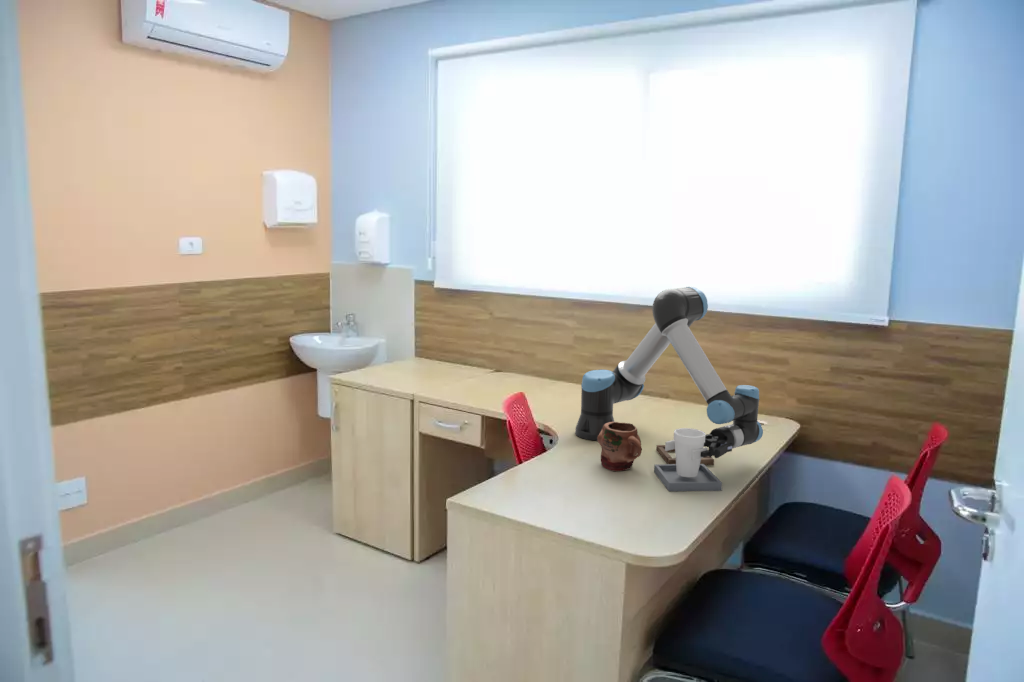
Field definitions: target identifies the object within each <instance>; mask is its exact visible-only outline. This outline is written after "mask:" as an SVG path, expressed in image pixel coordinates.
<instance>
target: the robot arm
mask: <svg viewBox="0 0 1024 682" xmlns="http://www.w3.org/2000/svg"><path fill="white" fill-rule="evenodd" d="M708 307H709V305H708V298H707V296H706V294H705V293H704V291H702V290H701V289H700V288H697V287H694V286H693V287H692V286H686V287H679V288H668V289H665V290H662V291H661V292H660V293H658V294H657V296H655V298H654V300H653V303H652V308H651V309H652V316H653V320H654V322H655V323H654V324H653V325H652V327H651V328H650V329H649V330H648V332H647V333H646V335H644V337H643V338H642V340H641V341H640V342H639V344H638V345H637V346H636V347H635V349H634V350H633V351H632V353H631V354H630V355H629V356H628V358H627V359H626V360H622V361H620V362H619V363H618V364H617V365H616V367H615V368H614V369H613V370H608V369H593V370H589V371H587V372H585V373H584V374H583V376H582V380H581V384H580V385H581V400H580V402H581V403H580V404H581V405H580V414H579V417H578V420H577V423H576V426H575V435H576V436H577V437H579V438H581V439H585V440H589V441H598V440H597V437H598V435H599V434H600V432H601V430H602V428H603V426H604V424H605V423H609V422H615V418H614V405H615V404H619V403H621V402H626V401H631V400H634V399H635V398H637V397H639V396H640V395H641V394H642V392H643V391H644V388H645V385H644V384H645V382H646V374H647V373H648V372H649V371H650V369H651V368H652V367H653V366H654V364H655V363H656V362H657V360H658V359H659V358H660V357H661V356H662V354H663V353H664V352H665V350H666V349H668V347H669V346H670V344H671V346H672V347H673V349H674V351H675V353H676V354H677V355H678V356H677V357H679V359H680V361H681V362H682V364H683V365H684V367H685V369H686V370H687V372H688V374H689V375H690V377H691V379H692V381H693V382H694V384H695V385H696V387H697V389H698V390H699V392H700V394H701V395H702V398H704V400H705V401H706V402H705V403H706V404H707V406H706V416H707V418H708V420H710V422H711V423H713V424H715V425H724V424H727V425H724V426H720V427H716V428H713V429H712V430H711V431H710V432H709V433H705V435H706V436H705V443H704V447H703V448H701V449H697V450H694V451H692V452H691V460H696V459H700V458H703V457H707V456H709V457H712V458H713V457H714V459H719V458H720V457H722V456H724V455H725V454H727V453H729V452H730V453H731V452H732V451H733V449H736V448H740V447H743V446H747V445H751V444H754V443H756V442H758V441H760V440H762V437H763V434H764V430H763V426H762V424H761V423H760V422H759V421H758V415H759V406H760V405H759V404H760V403H759V402H760V390H759V388H758V387H756V386H754V385H750V384H749V385H747V384H740V385H737V386H736V387H735V390H734V393H733V394H734V395H731V394H730V392H729V391H728V388H726V386H725V384H724V383H723V381H722V379H721V377H720V375H719V374H718V373H717V371H716V369H715V368H714V366H713V364H712V363H711V362H710V360H709V358H708V356H707V354H706V352H704V350H703V348H702V346H701V345H700V343H699V341H698V340H697V339H696V336H695V335H694V334H693V332H692V330H691V328H690V327H691V326H692V325H693V323H694V322H696V321H699V320H701V319H702V318H704V317H705V316H706V314H707V312H708V310H709V309H708ZM731 422H732V423H731ZM730 423H731V424H730ZM664 445H665V451H669V450H673V449H675V442H674V439H672V440H668V441H665V443H664Z"/></svg>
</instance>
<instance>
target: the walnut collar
mask: <svg viewBox="0 0 1024 682" xmlns="http://www.w3.org/2000/svg"><path fill="white" fill-rule="evenodd" d="M655 447H656V450H655V451H656V452H657V453H658V455H659V456H660V457H661V458H662V459H663V460H664V461H665V464H676V457H672V456H671V455H670V454H669V453H675V449H673V450H669V451H665V444H656V446H655ZM700 464H704V465H705V466H714V465H715V458H713V456H712V457H709V456H707V457H703V458H701V461H700Z"/></svg>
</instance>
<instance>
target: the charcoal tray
mask: <svg viewBox="0 0 1024 682" xmlns="http://www.w3.org/2000/svg"><path fill="white" fill-rule="evenodd" d="M653 469H654V470H653V473H654V474H655V475H656V477H657V479H659V480H660V481H661V484H662V485H663V486H664V488H666V489H667V491H668V492H711V491H712V492H713V491H714V492H716V491H717V492H718V491H719V492H720V491H722V489H723V488H722V486H723V482H722V481H721V480H720V478H718V477H717V476H716V475H715V474H714V473H713V472H712V471H711V470H710V469H709V467H707V465H704V464H700V466H699V471H698V475H697V476H695V477H684V476H680V475H678V474H677V470H676V464H668V463H665V464H660V463H659V464H655V463H654V467H653Z"/></svg>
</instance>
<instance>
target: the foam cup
mask: <svg viewBox="0 0 1024 682" xmlns="http://www.w3.org/2000/svg"><path fill="white" fill-rule="evenodd" d="M705 436H706V432H704V431H703V430H699V429H696V428H688V427H681V428H676V429H674V431H673V440H674V442H675V452H674V453H675V455H674V456H675V458H676V470H677V474H678V475H680V476H684V477H695V476H697V475H698V471H699V466H700V461H701V458H700V459H696V460H691V452H692V451H694V450H697V449H701V448H704V443H705Z"/></svg>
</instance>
